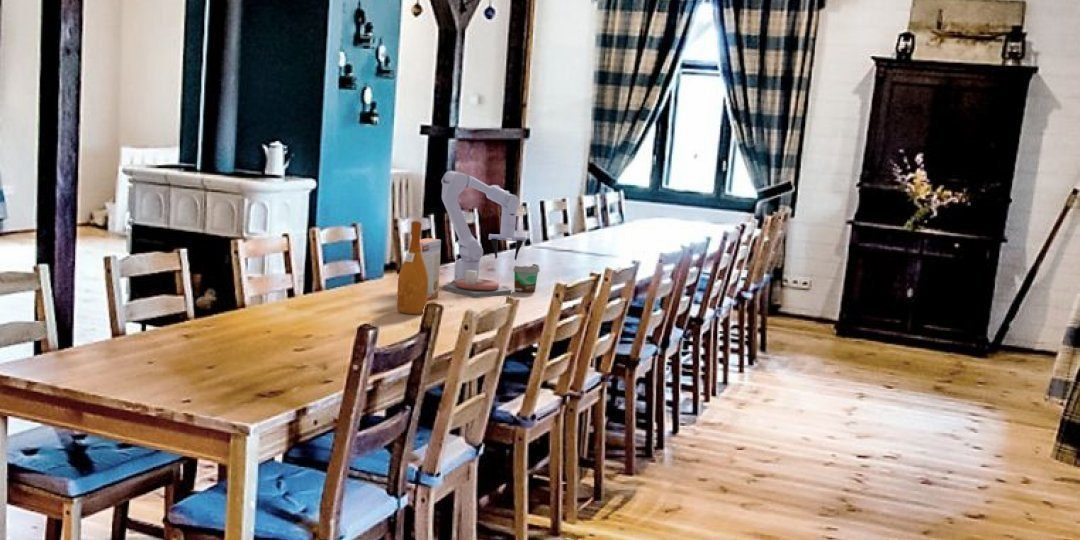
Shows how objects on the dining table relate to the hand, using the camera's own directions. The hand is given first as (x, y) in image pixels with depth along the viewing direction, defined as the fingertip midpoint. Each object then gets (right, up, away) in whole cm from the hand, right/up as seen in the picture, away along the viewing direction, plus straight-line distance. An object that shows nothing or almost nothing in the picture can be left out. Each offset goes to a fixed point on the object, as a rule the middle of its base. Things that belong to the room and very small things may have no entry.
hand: (505, 258), depth 430 cm
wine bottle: (-29, -18, -72) cm, 80 cm away
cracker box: (-28, -15, -48) cm, 57 cm away
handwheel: (-10, -10, -25) cm, 29 cm away
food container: (+9, -13, -17) cm, 23 cm away
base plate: (-10, -12, -25) cm, 29 cm away
